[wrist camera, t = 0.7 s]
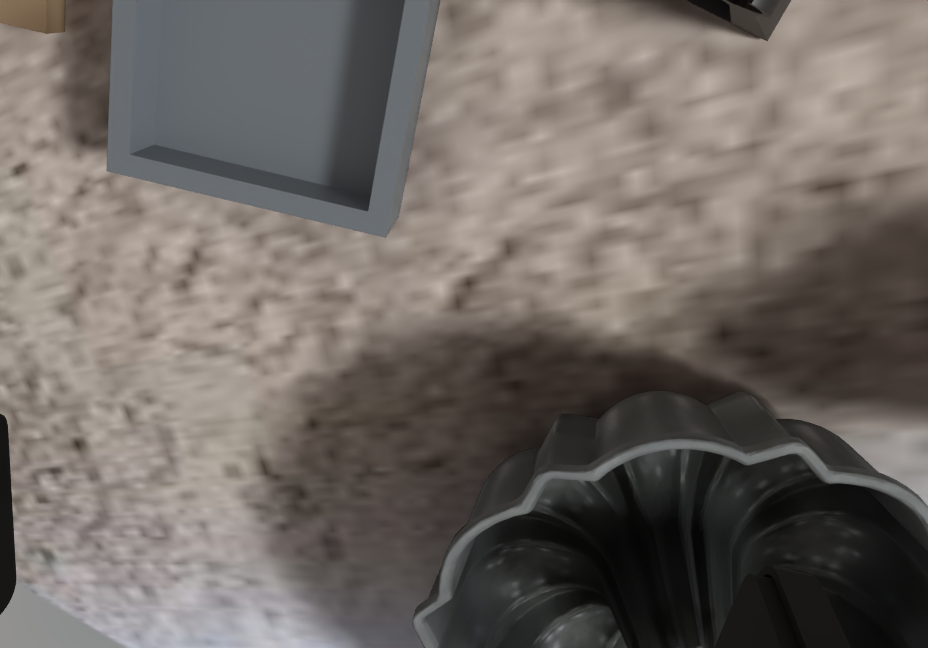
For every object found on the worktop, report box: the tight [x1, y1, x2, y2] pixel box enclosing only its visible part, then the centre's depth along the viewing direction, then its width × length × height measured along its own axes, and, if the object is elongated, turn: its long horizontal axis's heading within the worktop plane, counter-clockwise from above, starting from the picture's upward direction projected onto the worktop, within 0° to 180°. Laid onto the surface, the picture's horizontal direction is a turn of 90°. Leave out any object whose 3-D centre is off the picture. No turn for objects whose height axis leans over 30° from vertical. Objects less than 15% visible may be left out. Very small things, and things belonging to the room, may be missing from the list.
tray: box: [107, 0, 440, 238], centre depth 35 cm, size 13×13×4 cm
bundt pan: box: [412, 391, 928, 648], centre depth 41 cm, size 26×26×10 cm
